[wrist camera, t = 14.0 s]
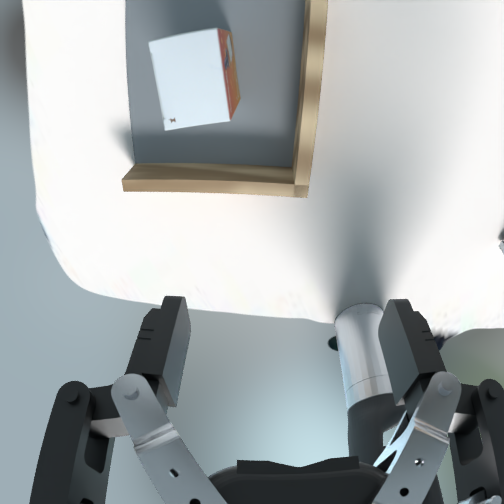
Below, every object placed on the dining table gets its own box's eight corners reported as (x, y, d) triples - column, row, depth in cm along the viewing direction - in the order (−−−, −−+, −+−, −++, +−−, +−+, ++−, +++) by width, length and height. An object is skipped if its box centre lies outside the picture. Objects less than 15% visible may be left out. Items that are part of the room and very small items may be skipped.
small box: (241, 99, 32) (232, 124, 23) (190, 106, 32) (163, 133, 24) (232, 30, 27) (218, 26, 18) (179, 38, 27) (146, 40, 19)
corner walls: (302, 178, 38) (307, 197, 34) (138, 173, 38) (123, 191, 34) (319, -8, 24) (328, -15, 20) (127, -3, 24) (107, -7, 20)
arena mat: (291, 166, 37) (291, 167, 37) (136, 162, 37) (135, 163, 37) (305, -9, 24) (305, -10, 24) (127, -3, 24) (125, -3, 24)
